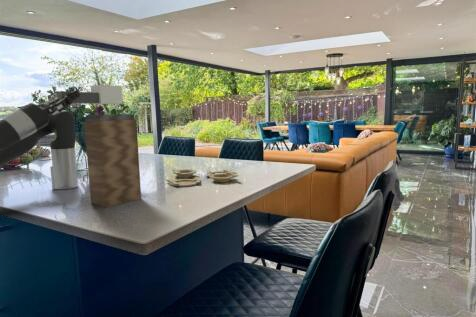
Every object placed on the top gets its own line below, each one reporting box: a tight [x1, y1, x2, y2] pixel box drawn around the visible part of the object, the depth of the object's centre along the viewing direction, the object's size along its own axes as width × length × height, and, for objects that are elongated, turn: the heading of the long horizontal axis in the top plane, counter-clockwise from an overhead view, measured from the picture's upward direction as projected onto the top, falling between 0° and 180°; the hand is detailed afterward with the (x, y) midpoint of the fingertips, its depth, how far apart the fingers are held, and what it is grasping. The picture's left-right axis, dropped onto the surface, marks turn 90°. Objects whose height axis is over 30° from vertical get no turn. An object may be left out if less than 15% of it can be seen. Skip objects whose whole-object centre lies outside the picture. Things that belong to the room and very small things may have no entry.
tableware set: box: [165, 168, 238, 188], centre depth 158 cm, size 35×29×4 cm
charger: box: [56, 84, 124, 105], centre depth 111 cm, size 20×6×6 cm, turn 142°
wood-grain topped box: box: [83, 113, 142, 208], centre depth 119 cm, size 14×10×31 cm
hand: (74, 93), depth 107 cm, fingers closed on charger, 3 cm apart
